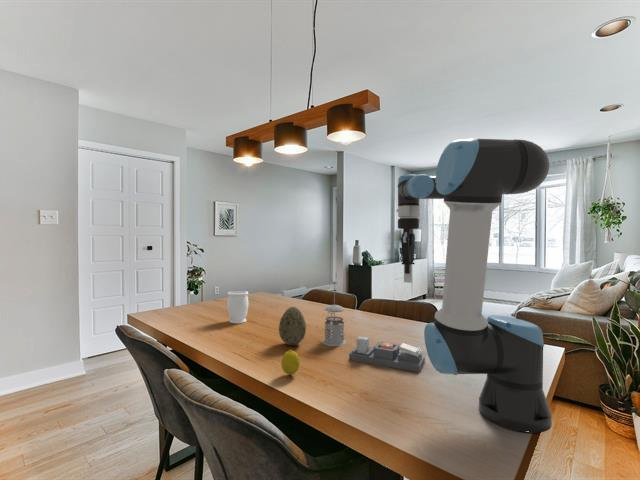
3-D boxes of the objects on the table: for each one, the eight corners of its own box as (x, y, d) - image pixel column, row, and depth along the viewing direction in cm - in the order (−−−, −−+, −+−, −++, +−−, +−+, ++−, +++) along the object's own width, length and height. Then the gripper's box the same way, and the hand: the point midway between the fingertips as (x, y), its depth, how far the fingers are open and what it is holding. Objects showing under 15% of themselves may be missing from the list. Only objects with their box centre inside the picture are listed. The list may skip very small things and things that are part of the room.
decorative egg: (311, 343, 132) (311, 306, 132) (294, 351, 123) (294, 311, 123) (290, 338, 138) (290, 303, 138) (273, 345, 129) (273, 307, 129)
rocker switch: (418, 357, 107) (419, 351, 107) (399, 349, 110) (400, 344, 110) (420, 352, 111) (421, 347, 111) (402, 346, 114) (403, 341, 114)
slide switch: (366, 354, 114) (366, 339, 114) (356, 352, 116) (356, 338, 115) (369, 351, 117) (369, 337, 116) (359, 349, 118) (359, 336, 118)
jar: (225, 320, 168) (225, 291, 168) (246, 318, 173) (246, 289, 173) (229, 325, 159) (229, 294, 159) (250, 323, 163) (250, 292, 163)
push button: (391, 356, 111) (391, 347, 111) (378, 354, 113) (378, 345, 113) (394, 352, 115) (394, 344, 115) (382, 350, 117) (382, 342, 117)
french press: (326, 347, 128) (326, 283, 127) (318, 338, 139) (318, 279, 139) (349, 345, 130) (350, 282, 130) (340, 336, 142) (340, 278, 141)
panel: (419, 372, 104) (419, 356, 104) (349, 359, 115) (349, 345, 115) (424, 361, 113) (424, 347, 113) (359, 350, 124) (359, 337, 124)
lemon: (290, 370, 106) (290, 345, 106) (303, 375, 102) (303, 349, 102) (277, 376, 101) (277, 350, 101) (290, 381, 98) (290, 354, 98)
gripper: (402, 219, 128) (401, 279, 128) (393, 217, 116) (393, 283, 117) (422, 218, 124) (421, 280, 125) (415, 216, 113) (414, 285, 113)
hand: (407, 282), depth 121 cm, fingers closed
